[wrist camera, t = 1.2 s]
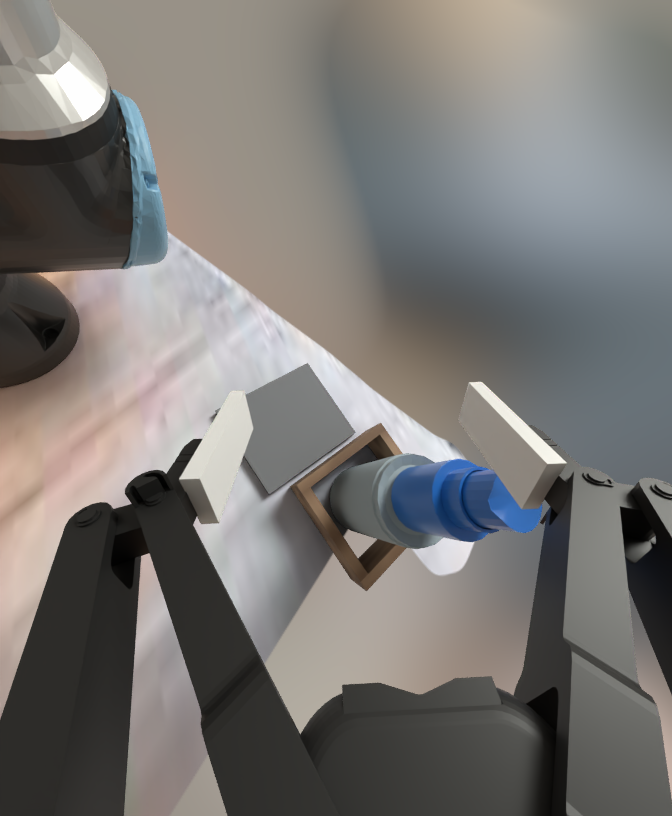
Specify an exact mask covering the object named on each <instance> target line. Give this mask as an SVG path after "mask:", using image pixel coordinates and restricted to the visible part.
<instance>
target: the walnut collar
mask: <svg viewBox="0 0 672 816" xmlns="http://www.w3.org/2000/svg"><path fill="white" fill-rule="evenodd" d="M367 444H368V446H369V447H370V449H371V450H372V452H373V453H374V455H375V456H376V457H377V459H378V460H380V459H384V458H388V457H391V456H395V455H400V454H402V452H401V451H400V449H399V448H398V447H397V445H396V444H395V442H394V441H393V439H392V438H391V437H390V435H389V434H388V432H387V431H386V429H385V428H384V427H383V425H382V424H381V423H380V424H378V425H376V426H374V427H372V428H370V429H369V430H367V431H365V432H364V433H362V434H361V435H360V436H358V437H357V438H356V439H354V440H353V441H352V442H350V443H349V444H347V445H346V446H345V447H343V448H342V449H341V450H339V451H338V452H337V453H335V454H334V455H332V456H331V457H330V458H328V459H327V460H326V461H324V462H323V463H321V464H320V465H319V466H317V467H316V468H315V469H313V470H312V471H311V472H309V473H308V474H306V475H305V476H304V477H302V478H301V479H300V480H298V481H297V482H296V483H294V484H293V485H291V486H290V487H291V489H292V490H293V492H294V493H295V495H296V496H297V498H298V499H299V501H300V502H301V504H302V505H303V507H304V508H305V510H306V512H307V513H308V515H309V516H310V518H311V519H312V521H313V522H314V524H315V525H316V527H317V528H318V530H319V531H320V533H321V534H322V536H323V537H324V539H325V540H326V542H327V543H328V545H329V547H330V548H331V550H332V551H333V553H334V554H335V556H336V557H337V559H338V560H339V562H340V563H341V565H342V566H343V568H344V569H345V571H346V572H347V574H348V575H349V577H350V578H351V579H352V580H353V581H354V582H355V583H357V584H358V585H359V586H361V587H362V588H363V589H365V590H366V591H367V590H368V589H369V588H370V587H371V586H372V585H373V584H374V583H375V582H376V580H377V579H378V578H379V577H380V576H381V575H382V574H383V573H384V572H385V571H386V570H387V568H388V567H389V566H390V565H391V564H392V563H393V562H394V561H395V560H396V559H397V558H398V556H399V555H400V554H401V553H402V552H403V551H404V550H405V549H406V548H405V547H401V546H398V545H395V544H392V543H389V542H386V541H383V540H379V539H377V541H376V542H375V543H374V544H372V545H371V546H370V547H369V548H368V549H367V550H366V551H365V553H363V555H361V556H360V557H359V558H357V557H356V555H355V554H354V552H353V551H352V549H351V548H350V547H349V545H348V543H347V542H346V540H345V539H344V537H343V536H342V534H341V533H340V531H339V530H338V528H337V527H336V525H335V524H334V522H333V521H332V519H331V518H330V516H329V515H328V513H327V512H326V510H325V509H324V507H323V506H322V504H321V503H320V501H319V500H318V498H317V497H316V495H315V494H314V492H313V491H312V489H311V488H310V487H312V486H313V485H314V484H315V483H317V482H318V481H319V480H321V479H322V478H323V477H325V476H326V475H327V474H329V473H330V472H331V471H333V470H334V469H335V468H336V467H338V466H339V465H340V464H342V463H343V462H344V461H346V460H347V459H348V458H350V457H351V456H352V455H353V454H355V453H356V452H357V451H359V450H360V449H361V448H363V447H364V446H365V445H367Z"/></svg>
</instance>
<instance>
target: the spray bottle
mask: <svg viewBox="0 0 672 816" xmlns="http://www.w3.org/2000/svg"><path fill="white" fill-rule="evenodd" d="M330 504H331V510H332V512H333V514H334V516H335V518H336V519H337V520H338V522H339V523H340V524H341V525H342V526H344V527H345V528H347V529H349V530H351V531H354V532H357V533H361V534H364V535H367V536H370V537H373V538H377V539H379V540H383V541H386V542H389V543H392V544H395V545H398V546H401V547H405V548H414V549H419V548H425V547H428V546H432V545H435V544H436V543H437V542H439V541H440V540H441V539H442V538H443V537H445V538H450V539H454V540H459V541H466V542H474V541H477V540H480V539H483V538H484V537H485V536H486V535H487V534H488V533H494V532H497V531H499V530H507V531H514V532H522V533H526V532H529V531H532V530H533V529H534V528H535V527H536V526H537V524H538V522H539V520H540V517H541V512H542V504H541V506H540V507H539V509H521V508H520V507H519V505H518V504H517V502H516V501H515V500H514V498H513V497H512V495H511V494H510V493H509V491H508V490H507V488H506V487H505V486H504V484H503V483H502V481H501V480H500V479H499V477H498V476H497V474H496V473H495V472H494V470H489V469H487V468H483V467H478V466H476V465H475V464H473V463H471V462H470V461H467V460H462V459H454V460H449V461H443V462H437V463H435V462H433V461H431V460H430V459H428V458H426V457H424V456H420V455H415V454H409V453H407V454H400V455H395V456H391V457H388V458H384V459H380V460H377V461H373V462H369V463H366V464H362V465H358V466H355V467H351V468H348V469H347V470H345V471H343V472H341V473H340V475H339V476H338V477H337V478H336V479H335V481H334V483H333V485H332V487H331V493H330Z"/></svg>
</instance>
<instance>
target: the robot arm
mask: <svg viewBox="0 0 672 816" xmlns="http://www.w3.org/2000/svg"><path fill="white" fill-rule="evenodd" d="M157 183H158V180H157V175H156V168H155V163H154V158H153V154H152V150H151V146H150V142H149V139H148V135H147V131H146V128H145V125H144V122H143V119H142V117H141V114H140V111H139V109H138V107H137V105H136V104H135V103H134V101H132V100H131V99H130V98H129V97H126V96H123V95H122V94H121V93H118V92H117V91H116V90H111V87H110V85H109V81H108V78H107V75H106V73H105V70H104V68H103V65H102V64H101V62H100V60H99V59H98V57H97V56H96V54H95V53H94V52H93V50H92V49H91V48H90V47H89V46H88V44H87V43H86V42H85V41H84V40H83V39H82V38H81V37H80V36H79V35H77V34H76V33H75V32H74V31H73V30H72V29H71V28H70V27H69V26H68V25H67V24H66V23H65V22H64V21H63V20H62V19H61V18H59V17H58V16H57V15H56V13H55V11H54V9H53V6H52V4H51V1H50V0H0V387H7V386H12V385H16V384H20V383H23V382H26V381H29V380H32V379H34V378H37V377H39V376H41V375H43V374H45V373H47V372H48V371H50V370H51V369H53V368H54V367H56V366H57V365H58V364H60V363H61V362H62V361H63V360H64V359H65V358H66V357H67V356H68V354H69V353H70V352H71V350H72V349H73V347H74V346H75V344H76V341H77V338H78V335H79V319H78V315H77V313H76V310H75V309H74V307H73V305H72V304H71V303H70V301H69V300H68V299H67V298H66V297H65V296H64V295H63V294H62V292H61V291H60V290H59V289H58V288H57V287H56V286H55V285H53V284H52V283H51V282H50V281H48V280H47V279H46V278H44V277H42V276H41V275H39V274H37V273H39V272H60V271H81V270H102V269H128V268H130V267H132V266H140V265H148V264H155V263H158V262H160V261H162V260H163V259H164V257H165V256H166V254H167V250H168V235H167V226H166V220H165V213H164V207H163V201H162V197H161V192H160V189H159V187H158V184H157ZM458 421H459V422H460V424H461V425H462V426H463V428H464V429H465V431H466V432H467V434H468V435H469V436H470V438H471V439H472V441H473V442H474V443H475V445H476V446H477V448H478V449H479V451H480V452H481V453H482V455H483V456H484V458H485V459H486V460H487V462H488V463H489V465H490V466H491V467H492V469H493V470H494V472H495V473H496V474H497V476H498V477H499V479H500V480H501V481H502V483H503V484H504V486H505V487H506V488H507V490H508V491H509V493H510V494H511V495H512V497H513V498H514V500H515V501H516V502H517V504H518V505H519V507H520V508H521V509H539V507H540V506H541V504H542V502H543V501H544V499H545V500H546V501H547V503H548V504H549V505H550V506H551V507H550V508H549V510H548V511H547V513H546V514H545V516H544V517H543V519H542V520H541V522H540V523H541V524H543V523H544V522H545V521H546V522H545V530H544V536H543V543H542V549H541V555H540V563H539V569H538V576H537V582H536V588H535V595H534V602H533V608H532V615H531V622H530V628H529V635H528V641H527V648H526V655H525V661H524V667H523V671H522V675H521V677H520V679H519V681H518V684H517V686H516V689H515V692H514V696H513V695H511V694H510V693H508V692H505V691H503V690H501V689H499V688H496V687H495V684H494V681H493V679H492V677H491V676H490V677H471V678H455V679H453V680H451V681H449V682H447V683H445V684H443V685H441V686H439V687H437V688H435V689H433V690H431V691H429V692H427V693H425V694H421V695H418V694H414V693H411V692H408V691H404V690H401V689H398V688H395V687H391V686H388V685H385V684H382V683H367V684H349V685H342V688H343V689H342V690H343V695H342V694H340V695H338V696H336V697H334V698H332V699H331V700H329V701H328V702H327V703H325V704H324V705H323V706H322V707H321V708H320V709H319V710H318V711H317V712H316V713H315V714H314V715H313V717H312V718H311V719H310V720H309V722H308V723H307V725H306V726H305V728H304V730H303V731H302V733H301V735H300V733H299V731H298V729H297V728H296V726H295V723H294V721H293V719H292V718H291V716H290V714H289V712H288V710H287V708H286V706H285V704H284V702H283V700H282V698H281V696H280V694H279V692H278V691H277V689H276V687H275V685H274V683H273V681H272V679H271V677H270V675H269V673H268V671H267V669H266V667H265V665H264V663H263V661H262V659H261V657H260V655H259V653H258V651H257V649H256V647H255V645H254V643H253V641H252V639H251V638H250V636H249V634H248V632H247V630H246V628H245V626H244V624H243V622H242V620H241V618H240V616H239V614H238V612H237V610H236V608H235V606H234V604H233V602H232V600H231V598H230V596H229V594H228V592H227V590H226V589H225V587H224V585H223V583H222V581H221V579H220V577H219V575H218V573H217V571H216V569H215V567H214V565H213V563H212V561H211V559H210V557H209V555H208V553H207V551H206V549H205V547H204V545H203V543H202V541H201V540H200V538H199V536H198V534H197V532H196V530H195V528H194V526H193V523H194V521H195V519H196V517H198V519H199V521H200V523H201V524H211V523H219V522H220V519H221V516H222V514H223V511H224V508H225V505H226V503H227V500H228V497H229V494H230V492H231V489H232V486H233V483H234V480H235V478H236V475H237V472H238V469H239V467H240V464H241V461H242V458H243V456H244V453H245V450H246V447H247V445H248V442H249V439H250V436H251V433H252V431H253V425H252V420H251V416H250V412H249V408H248V404H247V400H246V395H245V391H244V390H243V391H231V392H230V393H229V395H228V397H227V399H226V400H225V402H224V404H223V405H222V407H221V409H220V410H219V412H218V414H217V416H216V417H215V419H214V421H213V422H212V424H211V426H210V427H209V429H208V431H207V433H206V434H205V436H204V438H203V439H193V440H192V441H190V442H189V443H188V444H187V445H186V446H184V448H183V449H182V451H181V452H180V454H179V456H178V457H177V459H176V460H175V463H173V465H172V466H171V468H170V469H169V471H168V472H167V474H166V473H164V472H163V471H160V470H153V471H148V472H145V473H143V474H141V475H139V476H137V477H135V478H134V479H133V480H132V481H131V482H130V483H129V484H128V485H127V487H126V488H125V494H126V496H127V497H128V499H129V500H130V502H131V503H132V504H130V505H126V506H123V507H119V508H116V509H113V508H112V507H111V505H109V504H108V503H104V502H99V503H95V504H91V505H89V506H87V507H85V508H83V509H81V510H80V511H78V512H77V513H75V514H74V515H73V516H72V517H71V518H70V519H69V521H68V522H67V524H66V526H65V528H64V531H63V534H62V537H61V540H60V543H59V546H58V549H57V552H56V555H55V558H54V561H53V564H52V567H51V570H50V573H49V576H48V579H47V582H46V585H45V588H44V591H43V594H42V597H41V600H40V603H39V606H38V609H37V612H36V615H35V618H34V621H33V624H32V627H31V630H30V633H29V636H28V639H27V642H26V645H25V648H24V651H23V654H22V657H21V660H20V663H19V666H18V669H17V672H16V675H15V678H14V680H13V683H12V686H11V689H10V692H9V695H8V698H7V701H6V704H5V707H4V710H3V713H2V716H1V719H0V816H124V803H125V788H126V773H127V758H128V743H129V728H130V713H131V698H132V683H133V669H134V654H135V639H136V624H137V609H138V594H139V579H140V564H141V556H142V555H145V554H148V553H150V556H151V559H152V562H153V565H154V568H155V571H156V574H157V577H158V580H159V583H160V586H161V589H162V592H163V595H164V598H165V601H166V605H167V608H168V611H169V614H170V617H171V620H172V623H173V626H174V629H175V632H176V635H177V638H178V641H179V644H180V647H181V650H182V654H183V657H184V660H185V663H186V666H187V669H188V672H189V675H190V678H191V681H192V684H193V687H194V690H195V693H196V696H197V700H198V703H199V706H200V709H201V715H202V717H201V728H202V734H203V737H204V741H205V745H206V748H207V751H208V755H209V758H210V761H211V764H212V767H213V771H214V774H215V777H216V780H217V783H218V787H219V790H220V793H221V796H222V799H223V803H224V805H225V809H226V812H227V815H228V816H672V800H671V792H670V785H669V778H668V771H667V764H666V757H665V750H664V743H663V736H662V729H661V721H660V716H659V712H658V708H657V705H656V703H655V702H654V700H653V698H652V697H651V696H650V695H649V694H647V693H646V692H645V691H643V690H642V689H641V687H640V685H639V683H638V678H637V668H636V660H635V650H634V640H633V631H632V621H631V611H630V601H629V592H628V588H629V591H630V593H631V596H632V598H633V601H634V603H635V605H636V608H637V610H638V613H639V615H640V618H641V620H642V623H643V625H644V628H645V630H646V633H647V635H648V637H649V640H650V642H651V645H652V647H653V650H654V652H655V655H656V657H657V660H658V662H659V664H660V667H661V669H662V672H663V674H664V677H665V679H666V682H667V684H668V687H669V689H670V692H671V694H672V485H671V484H668V483H667V482H664V481H660V480H657V479H653V478H642V479H641V480H640V481H639V482H638V483H637V484H636V486H632V485H626V484H620V483H616V482H615V481H614V480H613V479H612V478H610V477H609V476H607V475H606V474H604V473H603V472H600V471H598V470H596V469H592V468H589V467H581V466H580V465H579V464H578V463H577V462H576V461H575V460H574V459H572V458H571V457H570V456H569V455H568V454H567V453H566V452H565V451H564V450H563V449H561V448H560V447H559V446H557V444H556V443H555V442H554V441H553V440H551V439H550V438H549V437H548V436H547V435H546V434H545V433H544V432H543V431H541V430H539V429H537V428H536V427H534V426H532V425H526V424H525V423H524V422H523V421H522V420H521V419H520V418H519V417H518V416H517V415H516V414H515V413H513V411H512V410H511V409H510V408H509V407H507V406H506V405H505V404H504V403H503V402H502V401H501V400H500V399H499V398H498V397H497V396H496V395H495V394H494V393H492V391H490V389H489V388H488V387H486V386H485V385H484V384H483V383H482V382H469V384H468V387H467V391H466V395H465V398H464V401H463V405H462V408H461V412H460V416H459V419H458ZM654 536H656V539H655V538H654Z"/></svg>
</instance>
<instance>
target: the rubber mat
mask: <svg viewBox="0 0 672 816" xmlns="http://www.w3.org/2000/svg"><path fill="white" fill-rule="evenodd" d="M246 400H247V404H248V408H249V412H250V416H251V420H252V425H253V431H252V433H251V436H250V439H249V442H248V445H247V447H246V450H245V453H244V457H245V458H246V460H247V462H248V463H249V465H250V466H251V468H252V469H253V471H254V472H255V474H256V475H257V477H258V479H259V480H260V482H261V483H262V485H263V486H264V488H265V489H266V491H267V492H268V494H271V493H272V492H273V491H275V490H276V489H278V488H279V487H280V486H282V485H283V484H285V483H286V482H287V481H289V480H290V479H292V478H293V477H294V476H296V475H297V474H298V473H300V472H301V471H303V470H304V469H305V468H307V467H308V466H310V465H311V464H312V463H314V462H315V461H317V460H318V459H319V458H321V457H322V456H324V455H325V454H326V453H328V452H329V451H330V450H332V449H333V448H335V447H336V446H337V445H339V444H340V443H342V442H343V441H344V440H346V439H347V438H349V437H350V436H351V435H353V434H354V433H356V432H355V431H354V430H353V428H352V427H351V425H350V424H349V422H348V421H347V419H346V418H345V417H344V415H343V414H342V412H341V411H340V409H339V408H338V406H337V405H336V404H335V402H334V401H333V399H332V398H331V396H330V395H329V393H328V392H327V391H326V389H325V388H324V386H323V385H322V383H321V382H320V380H319V379H318V378H317V376H316V375H315V373H314V372H313V370H312V369H311V367H310V366H309V365H308V363H307V364H305V365H303V366H301V367H299V368H297V369H295V370H293V371H291V372H289V373H288V374H286V375H284V376H282V377H280V378H278V379H276V380H274V381H272V382H270V383H268V384H266V385H264V386H262V387H260V388H258V389H257V390H255V391H253V392H251V393H249V394H247V395H246ZM220 409H221V408H220ZM220 409H218V410H216V414H218V412H219V410H220Z"/></svg>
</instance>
